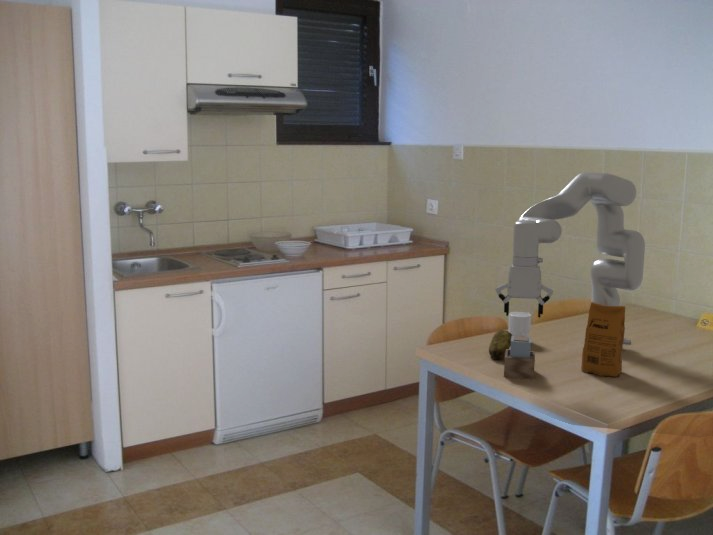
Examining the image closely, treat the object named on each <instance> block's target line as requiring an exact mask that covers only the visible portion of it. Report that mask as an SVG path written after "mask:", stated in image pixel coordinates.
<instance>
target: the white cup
mask: <svg viewBox="0 0 713 535" xmlns="http://www.w3.org/2000/svg"><path fill="white" fill-rule="evenodd" d="M531 319H532V314H530V313H529V312H524V311H509V315H508V332H509V333H511V334H512V336H520V337H529V335H530V330H531V329H530V327H531V321H532V320H531Z"/></svg>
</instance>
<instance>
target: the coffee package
mask: <svg viewBox="0 0 713 535" xmlns="http://www.w3.org/2000/svg"><path fill="white" fill-rule="evenodd" d="M625 320H626V305H620V306H604V305H601V304H598V303H594V302H591V301H590V306H589V310H588V319H587V325H586V328H585V334H584V335H585V336H584V341H585V343H584V342H583V346H582V352H581V368H580V369H581V372H583V373H593V374H595V375H597V376H601V377H614V378H615V377H618V376H619V374H621V372H622V371H623V370H622V369H623V364H622V363H623V361H622V352H623V350H624V349H623V345H624V344H623V341H624V338H625V332H626V331H625V329H626V326H625Z"/></svg>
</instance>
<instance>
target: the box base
mask: <svg viewBox="0 0 713 535" xmlns="http://www.w3.org/2000/svg"><path fill="white" fill-rule="evenodd" d="M535 363H536V351H535V350H530V359H529V358H517V357H510V348H509V349H506V352H505V355H504V365H503V368H504V369H503V377H504V376H505V378H515V377H518V378H517V379H527V378H529V379H531V380H534V379H535V378H534V377H535V365H536V364H535Z"/></svg>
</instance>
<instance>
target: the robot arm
mask: <svg viewBox="0 0 713 535" xmlns="http://www.w3.org/2000/svg"><path fill="white" fill-rule="evenodd" d="M636 196H637V188H636V185H635V184H634V182H633V181H631V180H629V179H626V178H624V177H620V176H618V175H615V174H612V173H606V172H590V171H589V172H588V171H587V172H581V173H578V174H577V175H575V177H574V178H573V179H572V180H571V181H570V182H568V184H567V185H566V186H565V187H564V188H563V189H562V190H560V192H559V193H558V194H557V195H554V196H551V197H549V198H546V199H544V200H542V201H540V202H537V203H534V204H533V205H531V207H529V208H528V209H527V210H525V212H524V213H522V215H520V217H519V218H518V220H517V221H516V222H514V225H513V241H512V242H513V243H512V248H513V249H512V264H510V265H509V269H508V274H507V275H508V276H507V282H506V283H503V284H500V285H499V286H497V287H495V292H496V294H497V296H498V298H499V299H500V300H501V301H502V302H503V304H504V305H503V313H506V314H505V316H506V317H509V313H510V302H509V301H510V300H511V299H531V300H533V299H536V300H537V301H538V308H537V317H538V318H541V315H544V305H545V304H546V303H547V302H549V300H550V299H551V297H552V295H553V294H554V290H553V289H552V288H550V287H548V286H546V285H545V284H542V269H541V265H539V264H540V263H543V262H544V261H543V260H544V258H542V257H540V256H539V246H540V245H539V244H553V243H555V242H557V241H558V240H559V239H560V237H561V235H562V230H563V229H562V226H561V224H560V223H559V221H556V220H561V219H566V218H570V217H573V216H575V215H576V214H578V213H579V212H580V210H582V209H583V208H584V207H585V205H586V204H588V202H590V203H591V204H592V205H593V207H594V209H595V211H596V214H597V228H596V249H597V251H598V253H600V254H602V255H606V256H610V257H615V258H616V257H617V258H623V259H624V260H619V259H612V258H604V257H603V258H598V259H597V260H595V261H593V263H592V264H591V266H590V282H591V301H590V303H591V302H594V303H598V304H601V305H604V306H621V297H620V294H619V291H618V289H620V290H625V291H635V290H636V291H637V289H638V288H639V287H640V286H641V285H642V282H643V279H644V277H643V276H644V267H645V266H644V265H645V251H646V245H645V244H646V242H645V238H644V236H643V234H642V233H641V232H639V231H637V230H632V229H625V224H624V222H625V220H624V218H625V214H624V211H623V208H622V207H627V206H631V205H632V203H634V201H635V200H636V198H637V197H636ZM505 289H506V291H507V292H506V293H507V295H504V294H503V292H502V291H503V290H505ZM542 291H544V292H546V293H547V294H546V295H545V296H544V297H542ZM584 343H585V340H584V342H583V344H584ZM623 345H627V346H631V345H632V339H630V338H629V339H628V338H626V337H624V341H623Z"/></svg>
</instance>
